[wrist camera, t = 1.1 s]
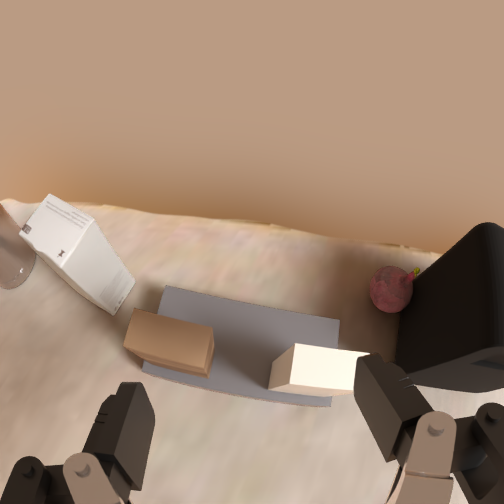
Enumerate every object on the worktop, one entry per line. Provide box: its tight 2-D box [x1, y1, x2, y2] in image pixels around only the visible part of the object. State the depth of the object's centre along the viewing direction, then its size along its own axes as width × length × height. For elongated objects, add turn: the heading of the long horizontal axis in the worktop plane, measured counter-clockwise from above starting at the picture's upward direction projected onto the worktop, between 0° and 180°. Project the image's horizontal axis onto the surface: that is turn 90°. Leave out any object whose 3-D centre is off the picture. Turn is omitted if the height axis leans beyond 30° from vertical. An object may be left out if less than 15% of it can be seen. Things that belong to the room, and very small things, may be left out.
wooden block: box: [268, 343, 370, 397], centre depth 24 cm, size 3×6×10 cm, turn 80°
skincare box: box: [19, 194, 136, 316], centre depth 30 cm, size 8×6×15 cm
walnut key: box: [123, 308, 215, 379], centre depth 24 cm, size 3×6×10 cm, turn 80°
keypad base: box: [142, 285, 340, 407], centre depth 32 cm, size 10×20×5 cm, turn 80°
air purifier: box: [395, 222, 504, 393], centre depth 29 cm, size 20×15×20 cm
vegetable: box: [370, 266, 420, 313], centre depth 36 cm, size 6×6×10 cm
